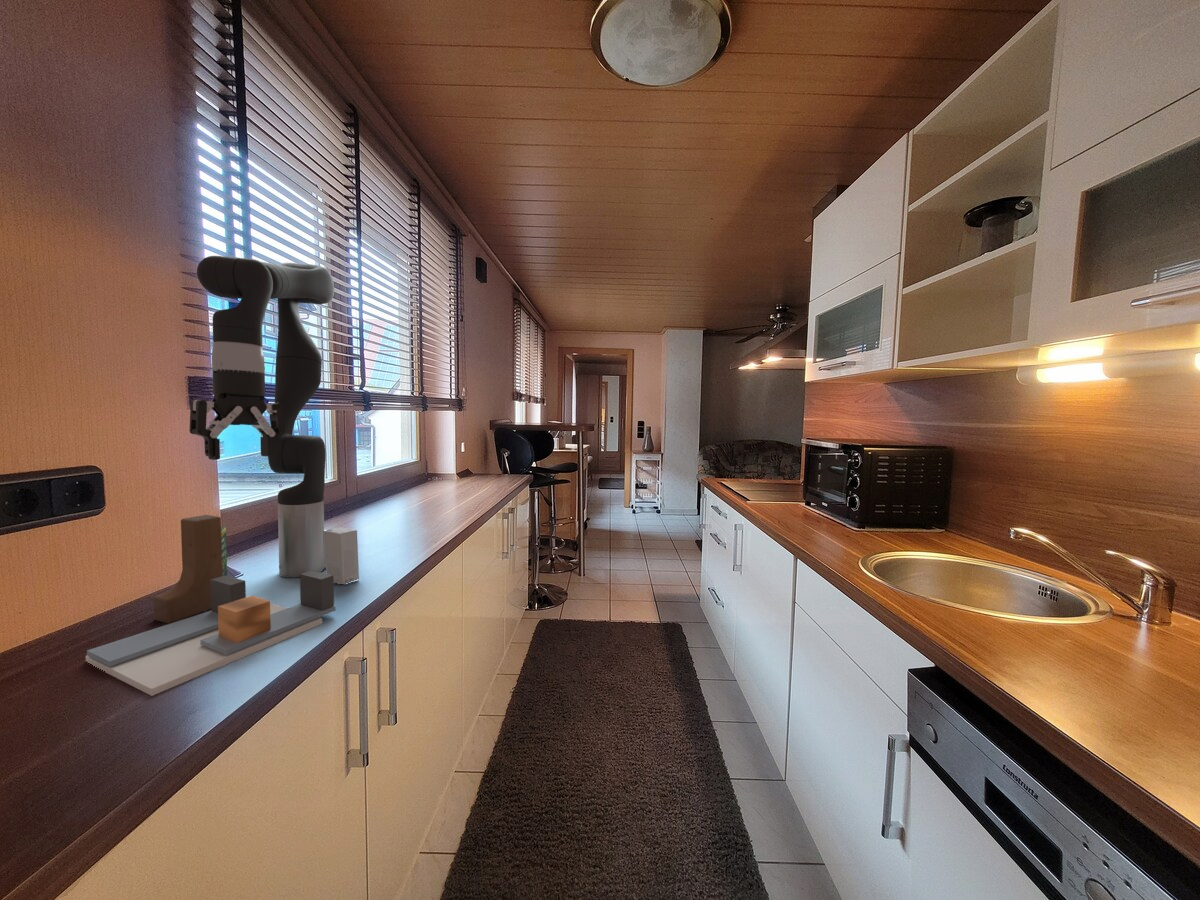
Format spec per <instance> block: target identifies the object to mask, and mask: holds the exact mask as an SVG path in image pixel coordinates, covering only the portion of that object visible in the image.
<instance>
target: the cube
mask: <svg viewBox="0 0 1200 900" xmlns="http://www.w3.org/2000/svg"><path fill="white" fill-rule="evenodd" d="M270 603H271V601H270V600H269V599H265V598H261V597H258V596H255V595H248V596H246V598H243V599H239V600H236V601H233V602H230V603H227V604H224V605H220V606H218V630H219V636H220V637H223V638H225V639H228V640H231V641H233V642H236V643H238V642H241V641H243V640H246V639H248V638H251V637H253V636H256V635H258V634H261V633H263V632H266V631H269V630H271V622H270Z"/></svg>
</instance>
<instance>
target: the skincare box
mask: <svg viewBox="0 0 1200 900" xmlns="http://www.w3.org/2000/svg"><path fill="white" fill-rule="evenodd" d="M325 530H326V531H325V549H326V568H325V569H326V574H330V575H333V582H334V583H333V584H336V583H339V584H338V585H340V584H346V583H349V582H351V581H354V580H357V579H359V580H360V571H359V569H360V568H359V548H358V547H359V546H358V545H359V544H358V530H357V529H351V528H347V527H343V526H340V527H335V528H334V527H333V528H330V529H325Z"/></svg>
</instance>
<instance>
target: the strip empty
mask: <svg viewBox="0 0 1200 900" xmlns="http://www.w3.org/2000/svg"><path fill="white" fill-rule="evenodd" d="M246 588H247V587H246V580H244V579H241V578H238V577H237V578H236V577H233V576H229V575H227V576H222V577H218V578H214V579H211V610H208V611H205V612H202V613H199V614H196V615H193V616H190V617H187V618H184V619H181V620H178V621H175V622H172V623H169V624H165V625H162V626H158V627H155V628H153V629H149V630H146V631H142V632H140V633H137V634H134V635H130V636H128V637H124V638H121V639H118V640H115V641H112V642H108V643H107V644H103V645H100V646H97V647H94V648H91V649H87V650H86V656H89V657H91V658H93V659H95V660H97V661H99V662H101V663H103V664H105V665H107V666H109V667H111V666H113V665H116V664H119V663H122V662H125V661H127V660H130V659H133V658H136V657H139V656H142V655H144V654H147V653H150V652H153V651H156V650H158V649H161V648H164V647H167V646H170V645H172V644H175V643H178V642H181V641H184V640H187V639H189V638H192V637H195V636H198V635H201V634H203V633H206V632H209V631H212V630H215V629H218V606H220V605H224V604H227V603H230V602H233V601H236V600H239V599H243V598H246V597H247V593H246V592H247V591H246Z"/></svg>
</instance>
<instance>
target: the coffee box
mask: <svg viewBox="0 0 1200 900" xmlns="http://www.w3.org/2000/svg"><path fill="white" fill-rule="evenodd" d="M221 541H222V574H223V576H228V559H227V558H228V555H227V551H228V550H227V527H226V526H221Z"/></svg>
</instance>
